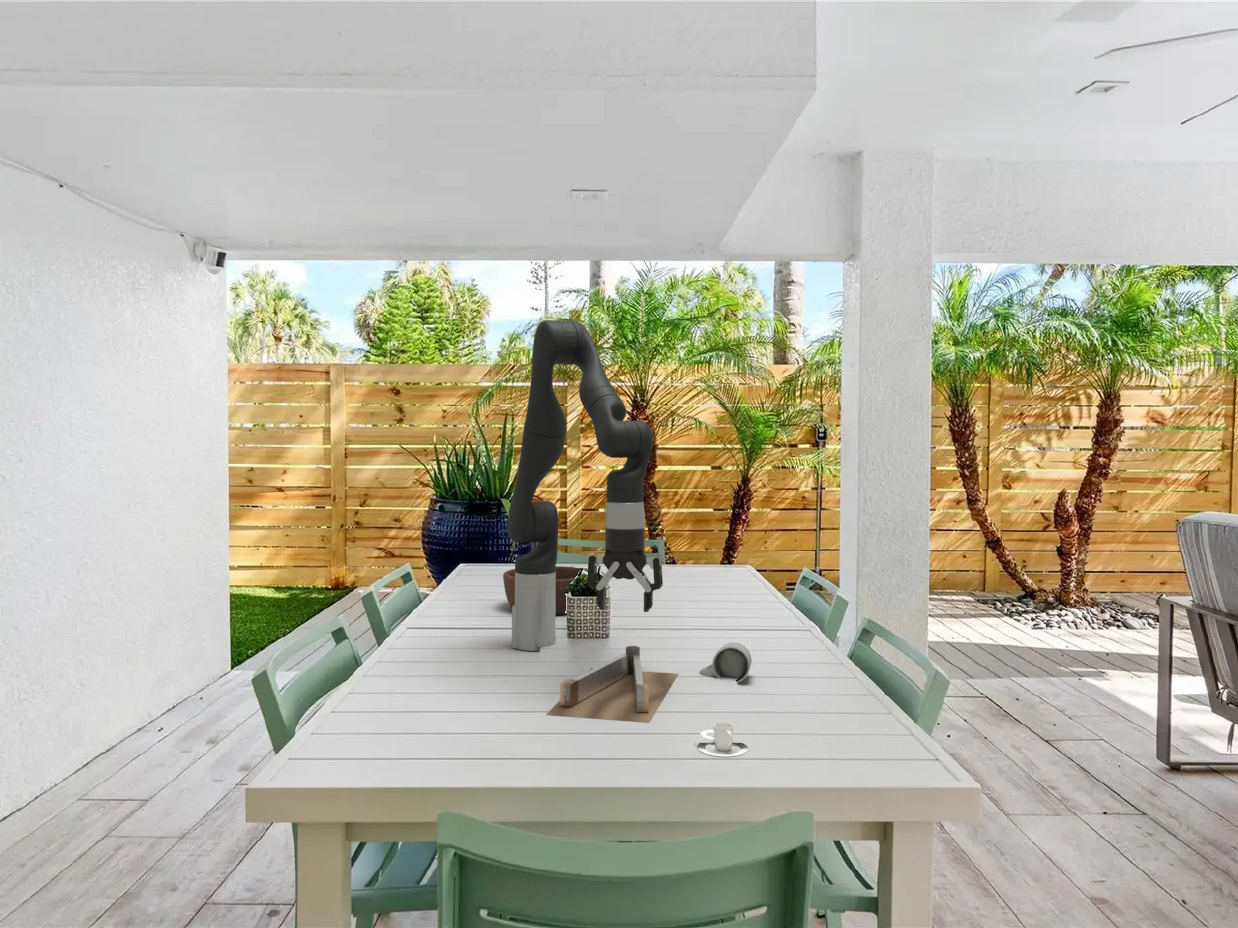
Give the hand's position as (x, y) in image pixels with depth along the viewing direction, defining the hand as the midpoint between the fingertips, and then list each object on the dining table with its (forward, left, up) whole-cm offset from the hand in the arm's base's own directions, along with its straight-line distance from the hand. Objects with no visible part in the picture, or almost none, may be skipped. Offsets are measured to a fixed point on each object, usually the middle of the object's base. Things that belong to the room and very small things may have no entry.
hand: (624, 610), depth 178 cm
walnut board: (0, -6, -15) cm, 16 cm away
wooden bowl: (-37, +73, -16) cm, 83 cm away
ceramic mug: (+18, +12, -16) cm, 27 cm away
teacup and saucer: (+23, -26, -16) cm, 38 cm away
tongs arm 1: (-4, -5, -14) cm, 16 cm away
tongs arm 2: (+4, -5, -14) cm, 16 cm away
